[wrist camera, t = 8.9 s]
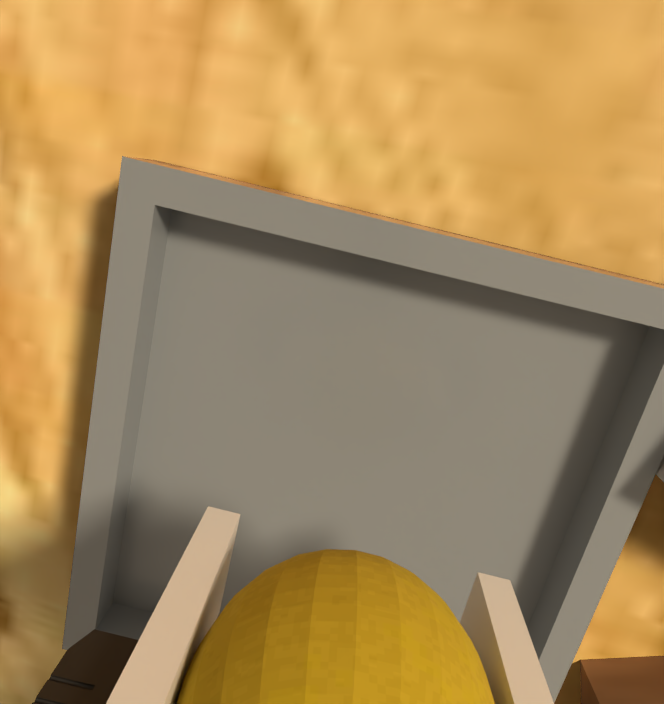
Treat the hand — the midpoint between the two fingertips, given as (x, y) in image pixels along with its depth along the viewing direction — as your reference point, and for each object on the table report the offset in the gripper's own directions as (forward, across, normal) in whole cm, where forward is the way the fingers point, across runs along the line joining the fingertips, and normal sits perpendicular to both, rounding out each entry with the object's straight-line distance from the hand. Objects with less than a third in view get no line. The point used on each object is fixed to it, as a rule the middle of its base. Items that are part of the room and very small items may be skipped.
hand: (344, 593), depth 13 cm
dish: (+6, 0, 0) cm, 6 cm away
